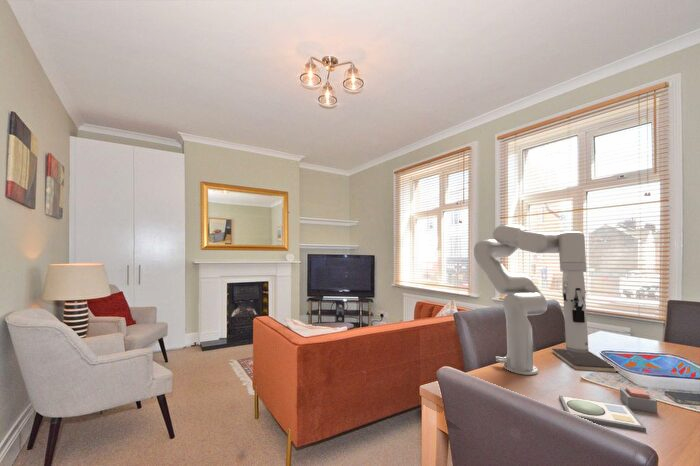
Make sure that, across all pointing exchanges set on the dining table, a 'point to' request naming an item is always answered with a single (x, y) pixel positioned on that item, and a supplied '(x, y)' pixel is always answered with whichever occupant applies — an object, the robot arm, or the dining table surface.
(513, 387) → the dining table surface
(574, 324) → the travel mug
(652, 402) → the button housing
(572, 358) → the hardcover book
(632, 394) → the button
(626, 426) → the picture board
